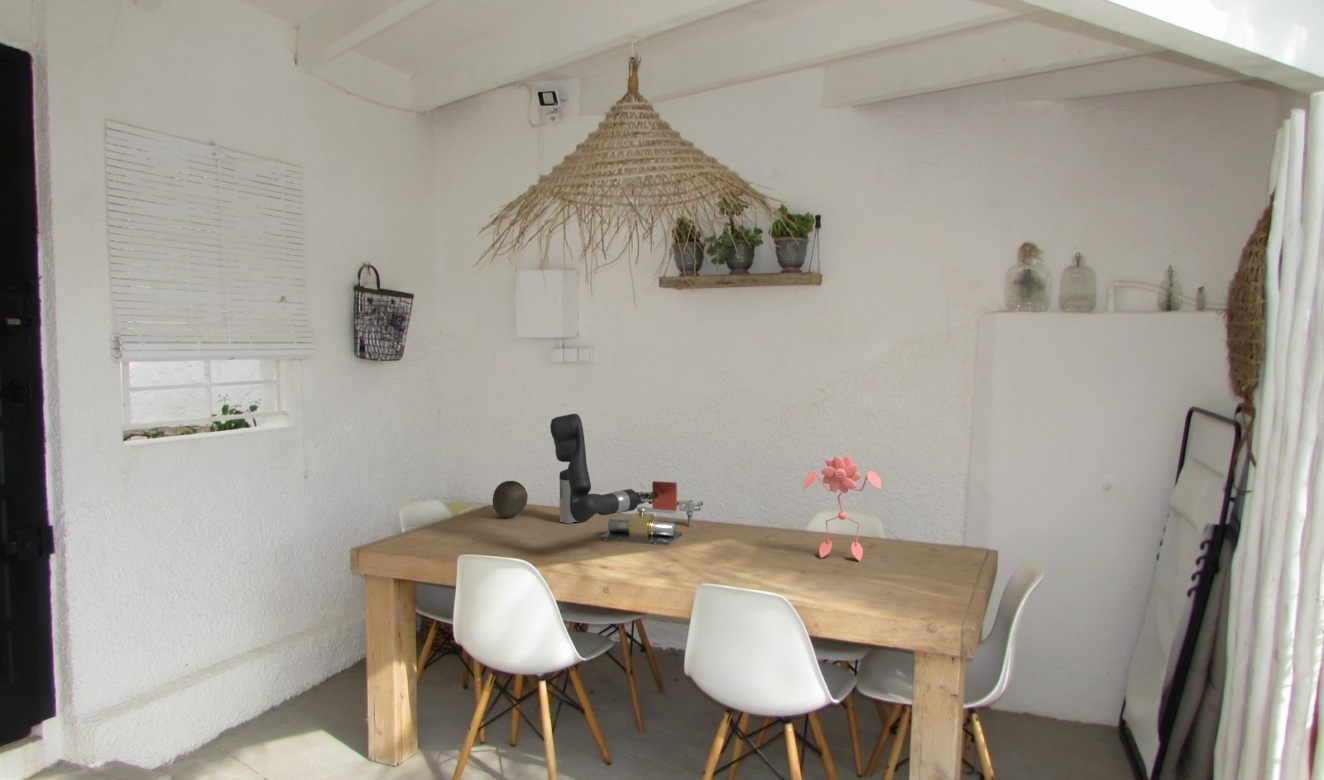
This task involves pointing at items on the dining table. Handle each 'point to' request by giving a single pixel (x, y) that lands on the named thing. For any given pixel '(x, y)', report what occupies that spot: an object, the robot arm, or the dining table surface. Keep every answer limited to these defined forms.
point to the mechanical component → (689, 508)
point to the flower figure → (841, 478)
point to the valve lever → (663, 498)
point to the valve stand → (641, 530)
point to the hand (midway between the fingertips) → (656, 494)
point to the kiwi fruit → (509, 499)
